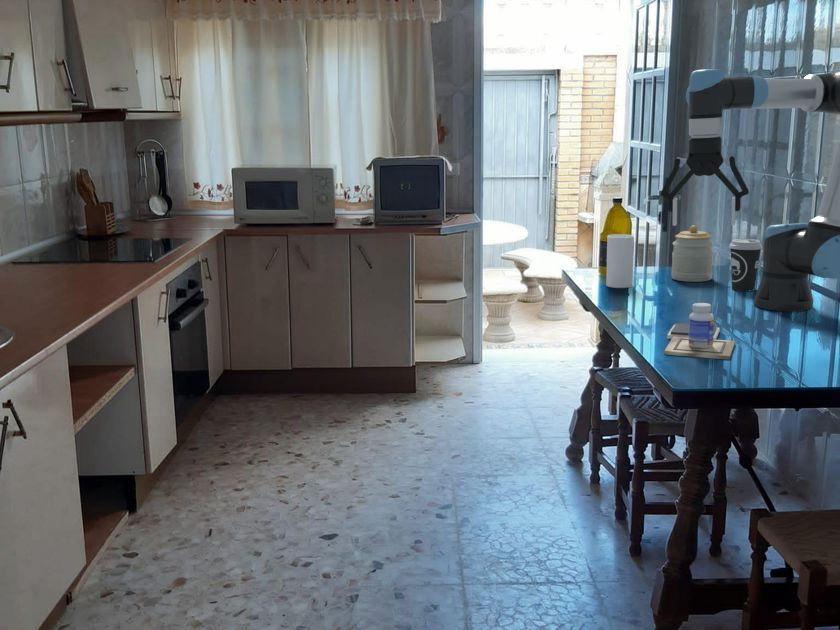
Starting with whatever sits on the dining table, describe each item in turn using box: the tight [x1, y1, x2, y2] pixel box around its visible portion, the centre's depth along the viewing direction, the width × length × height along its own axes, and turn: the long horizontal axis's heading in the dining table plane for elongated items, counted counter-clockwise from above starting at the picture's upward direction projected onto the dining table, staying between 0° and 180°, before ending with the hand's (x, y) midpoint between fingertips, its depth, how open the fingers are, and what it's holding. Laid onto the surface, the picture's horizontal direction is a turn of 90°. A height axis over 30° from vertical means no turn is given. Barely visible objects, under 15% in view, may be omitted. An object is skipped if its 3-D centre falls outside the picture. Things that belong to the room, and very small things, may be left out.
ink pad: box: [666, 322, 721, 340], centre depth 210 cm, size 11×11×2 cm
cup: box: [605, 233, 635, 289], centre depth 273 cm, size 8×8×16 cm
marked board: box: [663, 337, 736, 360], centre depth 198 cm, size 14×14×1 cm
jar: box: [671, 225, 715, 283], centre depth 281 cm, size 13×13×18 cm
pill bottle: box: [688, 302, 715, 348], centre depth 196 cm, size 5×5×10 cm
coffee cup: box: [728, 238, 763, 292], centre depth 262 cm, size 10×10×15 cm
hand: (703, 224), depth 210 cm, fingers open, 13 cm apart
